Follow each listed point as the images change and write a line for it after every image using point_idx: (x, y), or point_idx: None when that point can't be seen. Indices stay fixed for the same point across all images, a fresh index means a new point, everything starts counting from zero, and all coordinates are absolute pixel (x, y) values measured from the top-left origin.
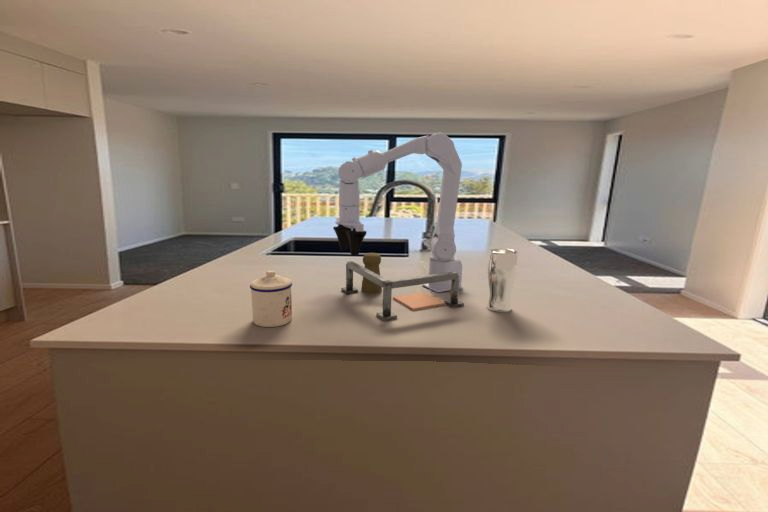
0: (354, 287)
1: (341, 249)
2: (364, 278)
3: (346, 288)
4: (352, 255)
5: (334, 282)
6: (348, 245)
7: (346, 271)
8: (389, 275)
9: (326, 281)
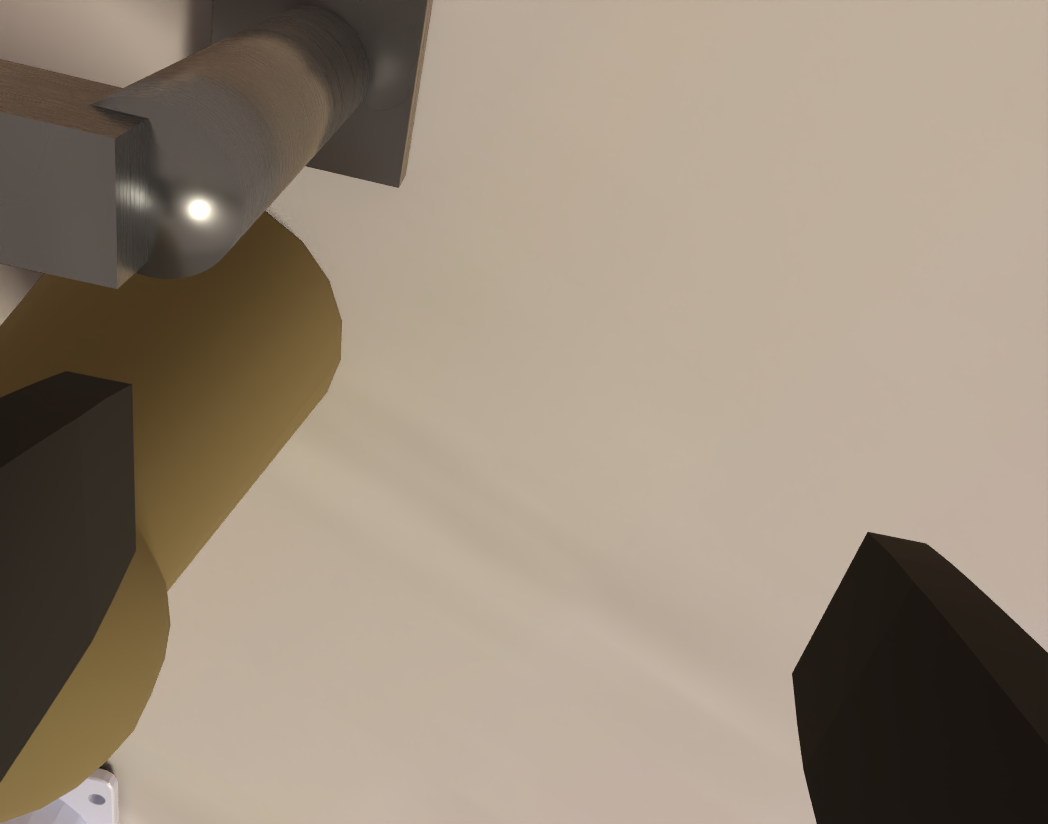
0: (333, 171)
1: (874, 552)
2: (99, 290)
3: (309, 7)
4: (59, 379)
5: (865, 159)
6: (812, 799)
7: (205, 61)
8: (599, 783)
9: (1013, 86)
